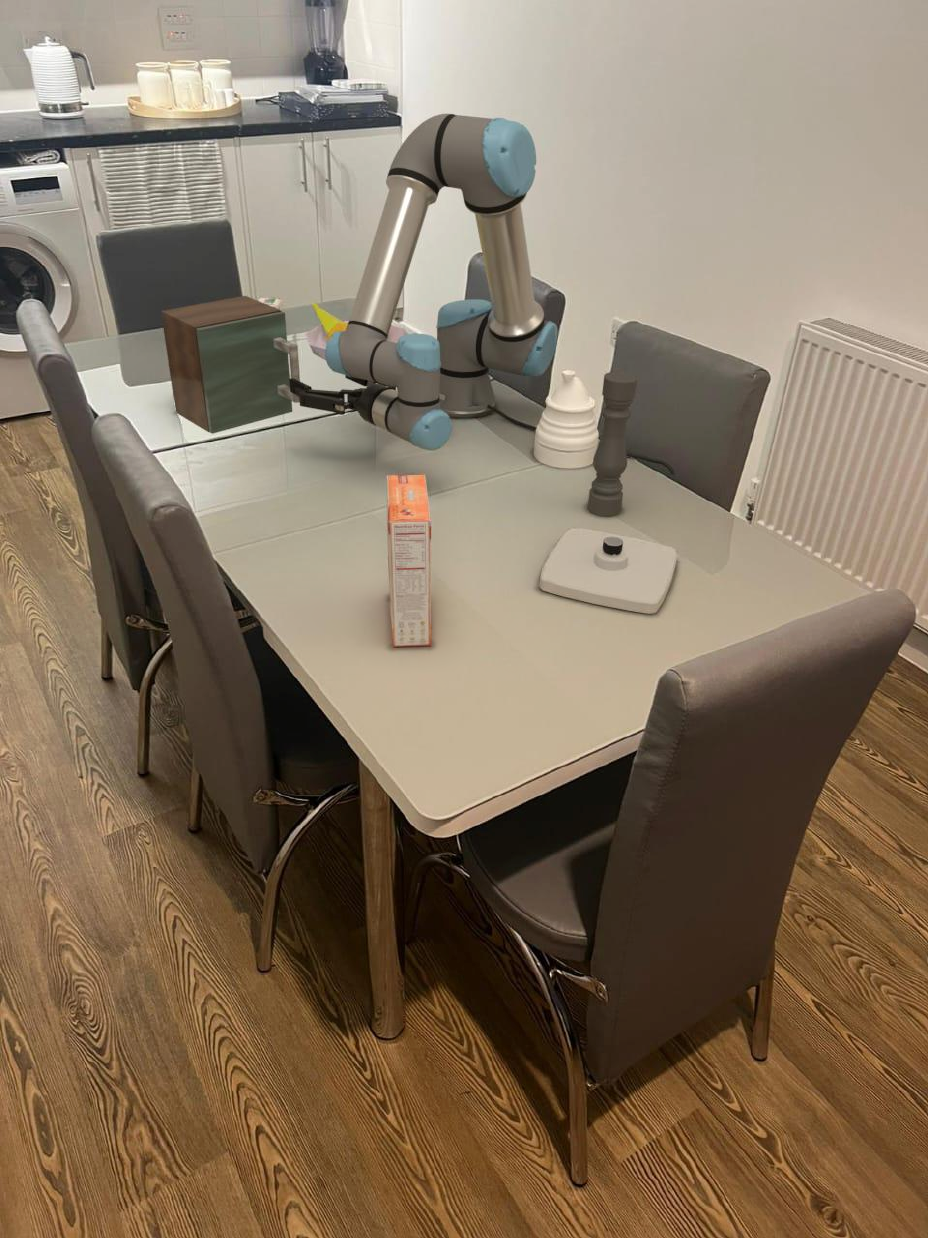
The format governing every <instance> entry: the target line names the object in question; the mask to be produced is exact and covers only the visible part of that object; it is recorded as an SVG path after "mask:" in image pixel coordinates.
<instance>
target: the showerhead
mask: <svg viewBox="0 0 928 1238" xmlns="http://www.w3.org/2000/svg"><path fill="white" fill-rule="evenodd" d="M677 556H678V551H677V550H676V548H674V547H673V546H669V545H665V544H661V543H657V542H654V541H649V540H645V539H640V538H635V537H631V536H625V535H622V534H616V533H611V532H610V533H609V532H604V531H599V530H594V529H585V528H578V527H572V528H568V530H567V531H565V533H564V534H562V535H561V536H560V538H559V539H558V541H557V542H556V543H555V546H553V548H552V550H551V552H550V553H549V554H548V557H547V558H546V561H545V563H544V565H543V566H542V569H541V573H540V577H539V589H541V591H543V592H547V593H550V594H554V595H557V596H560V597H564V598H569V599H572V600H577V601H580V602H585V603H589V604H594V605H598V606H603V607H609V608H614V609H618V610H623V611H628V612H634V613H635V612H636V613H640V614H641V613H642V614H647V615H648V614H649V615H650V614H656V613H657V612H658V611H659V609H660V608H661V606H662V605H663V603H664V601H665V599H666V596H667V594H668V592H669V589H670V587H671V585H672V581H673V577H674V575H675V574H674V573H675V570H676V567H677V566H676V564H677V559H678V558H677Z"/></svg>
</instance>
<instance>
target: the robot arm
mask: <svg viewBox="0 0 928 1238" xmlns="http://www.w3.org/2000/svg"><path fill="white" fill-rule="evenodd" d="M536 151H537V150H536V146H535V142H534V139H533V137H532V135H531V133H530V131H529V130H528V128H527V127H526V126H525V125H524V124H522V123H520V121H514V120H509V119H506V118H503V117H494V118H487V117H479V116H471V115H460V114H454V113H442V114H441V113H440V114H437V115H434V116H432V117H429V118H428V119H426V120H424V121H423V122H421V123H420V124H419V125H418V126H417V127H415V129H413V130H412V132H411V133H410V134H409V135H408V136H407V137H406V138H405V140H404V141H403V142H402V143H401V145H400V147H399V149H398V150H397V152H396V153H395V156H394V158H393V160H392V162H391V164H390V167H389V170H388V173H387V176H386V178H385V179H386V180H385V184H386V186H387V189H388V192H387V196H386V199H385V202H384V206H383V209H382V212H381V216H380V219H379V222H378V225H377V228H376V232H375V235H374V238H373V240H372V244H371V248H370V251H369V254H368V258H367V261H366V264H365V267H364V271H363V274H362V277H361V281H360V284H359V287H358V290H357V293H356V297H355V300H354V304H353V307H352V309H351V313H350V315H349V319H348V321H349V322H348V325H347V328H346V331H337V332H335V333H333V334H332V336H331V338H330V339H329V340H328V342H327V345H326V350H325V357H326V360H325V361H326V365H327V366H328V368H329V369H330V370H331V371H332V372H334V373H337V374H341V375H343V376H344V377H345V379H347V380H349V381H351V382H354V383H356V384H358V385H360V386H362V387H359V388H354V389H345V388H342V389H341V390H340V391H337V390H327V389H326V390H323V389H313V388H312V386H311V385H308V384H306V383H304V382H302V381H301V380H300V381H298V380H296V379H294V378H291V377H290V379H289V382H290V392H291V393H293V394H295V395H296V396H298V397H299V400H300V402H299V406H300V407H301V408H302V407H303V408H309V409H314V410H320V411H325V412H331V413H335V414H337V415H339V416H340V415H341V416H343V415H346V410H351V411H355V412H357V413H358V414H359V416H360V417H361V419H362V420H363V421H364V422H367V423H369V424H371V425H372V426H375V427H378V428H380V429H382V430H383V431H386V432H388V433H390V434H391V435H393V436H396V437H398V438H400V439H402V440H404V441H405V442H408V443H409V444H411V445H413V446H414V447H418V448H421V449H423V450H426V451H437V450H439V449H441V448H442V447H443V446H445V445H446V443H447V442H448V441H449V439H450V437H451V435H452V431H453V422H452V420H451V418H452V419H454V418H455V419H473V418H480V417H484V416H487V415H489V414H491V413H493V412H494V413H496V414H497V415H499V416H500V417H502V418H504V419H505V420H507V421H509V422H510V423H513V424H516V425H518V426H521V427H523V428H527V429H529V430H532V431H536V428H537V426H534V425H532V424H528V423H526V422H522V421H519V420H517V419H515V418H513V417H511V416H509V415H507V414H505V412H502V411H501V410H499V409H498V408H496V396H495V393H494V389H493V385H492V382H491V378H490V374H489V372H490V369H492V370H495V371H500V372H505V373H510V374H513V375H518V376H521V377H531V378H539V377H541V376H542V375H543V374H544V373H545V372H546V371H547V369H548V368H549V366H550V364H551V362H552V360H553V358H554V354H555V351H556V347H557V343H558V337H559V336H558V335H559V334H558V333H559V331H558V326H557V324H556V323H555V322H552V320H551V321H550V320H549V321H547V320H545V319H546V318H545V312H544V309H543V307H542V305H541V304H540V303H539V302H538V301H536V300H535V293H534V287H533V279H532V273H531V266H530V259H529V253H528V245H527V238H526V231H525V224H524V219H523V209H522V203H524V201H525V199H526V198H527V194H528V192H529V191H530V190H531V188H532V187H533V184H534V181H535V177H536V169H535V168H536V167H535V166H536V165H537V152H536ZM445 187H446V188H452V189H458V190H460V191H461V192H462V197H463V201H464V206H465V208H466V209H467V210H468V211H469V212H471V213H472V214H474V216H475V221H476V227H477V233H478V237H479V238H478V239H479V244H480V247H481V254H482V258H483V263H484V269H485V274H486V280H487V284H488V291H489V295H490V300H491V301H488V300H485V299H480V298H479V299H478V298H477V299H475V298H474V299H473V298H472V299H460V300H455V301H452V302H448V303H445V304H443V305H442V306H441V307H440V308H439V310H438V313H437V320H436V326H435V327H436V337H435V336H433V335H430V334H426V333H408V334H406V335H403V336H401V337H400V338H399V340H398V343H394V342H390V341H386V340H387V337H388V333H389V330H390V327H391V325H393V324H392V323H393V320H394V318H395V314H396V311H397V308H398V305H399V301H400V298H401V295H402V292H403V288H404V285H405V282H406V279H407V276H408V272H409V269H410V267H411V263H412V260H413V257H414V253H415V250H416V247H417V244H418V241H419V237H420V234H421V232H422V228H423V226H424V222H425V218H426V216H427V213H428V208H429V206H431V205H433V204H435V203H436V202H437V199H438V197H439V194H440V191H441V190H442V189H443V188H445ZM345 397H346V398H345ZM346 399H347V400H346ZM626 455H627V457H629V458H633V459H634V458H635V459H639V460H643V461H647V462H649V463H654V464H659V465H662V466H664V467H665V468H666V469H667V470H668V471H669V473H670V474H671V475H672V476H676V475H677V473H676V472H675V469H674V468H673V467H672V466H671V465H670V464H669V463H668V462H667V461H665V460H662V459H657V458H652V457H649V456H646V455H642V454H637V453H633V452H627V451H626Z"/></svg>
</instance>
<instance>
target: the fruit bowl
mask: <svg viewBox="0 0 928 1238" xmlns="http://www.w3.org/2000/svg"><path fill="white" fill-rule="evenodd" d="M311 306H312V307H313V309H314V310H315V314H316V316H317V318H318V321H319V322H320V325H318V326H316V327H314V328H313V329H311V330H309V331H307V332H306V333H304V336H305V339H306V340H307V343H308V345H309V347H310V349H311V352H312V353H313V354H314V355H315V356H317V357H319V358H321V359H323V360H324V361H326V357H325V350H326V345H327V342H328V340H329V339H330V338H331V336H332V334H333V333H335V332H337V331H346V328H347V325H348V322H349V320H344V321H342V320H341V319H340V318H337V317H336V316H333V315H332V314H331V313H329V312H327V311H326V310H324V309H322V308H320V306H319V305H318V304H317V302H313V303H311ZM406 334H409V332H408V331H407V330H406V328H404V327H402V326H401V327H400V326H397V325H394V324H391V327H390V330H389V333H388V337H387V340H386V341H390V342H394V343H398V340H399V338H400V337H401V336H403V335H406Z"/></svg>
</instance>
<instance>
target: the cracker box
mask: <svg viewBox="0 0 928 1238" xmlns="http://www.w3.org/2000/svg"><path fill="white" fill-rule="evenodd" d="M429 501H430V500H429V493H428V487H427V478H426V474H406V475H405V474H391V475H386V529H387V530H386V535H387V536H386V537H387V565H388V569H387V570H388V592H389V594H388V595H389V611H390V612H389V613H390V624H391V625H390V627H391V639H392V647H394V648H398V647H399V648H400V647H427V646H429V647H430V646H432V518H431V511H430V509H431V508H430V502H429Z"/></svg>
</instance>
